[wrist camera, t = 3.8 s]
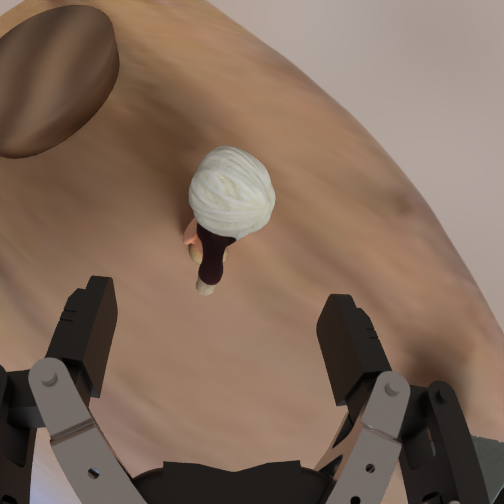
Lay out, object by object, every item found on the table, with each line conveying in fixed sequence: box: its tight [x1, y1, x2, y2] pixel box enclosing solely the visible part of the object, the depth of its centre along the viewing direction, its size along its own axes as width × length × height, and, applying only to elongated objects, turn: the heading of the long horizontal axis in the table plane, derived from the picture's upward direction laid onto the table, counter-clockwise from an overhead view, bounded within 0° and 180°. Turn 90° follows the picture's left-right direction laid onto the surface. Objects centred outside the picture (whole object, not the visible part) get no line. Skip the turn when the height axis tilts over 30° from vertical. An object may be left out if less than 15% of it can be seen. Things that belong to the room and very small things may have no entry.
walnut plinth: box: [0, 5, 119, 159], centre depth 20 cm, size 16×16×4 cm
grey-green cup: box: [430, 434, 504, 504], centre depth 18 cm, size 10×10×12 cm
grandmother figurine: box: [183, 146, 275, 295], centre depth 16 cm, size 8×4×13 cm, turn 178°
